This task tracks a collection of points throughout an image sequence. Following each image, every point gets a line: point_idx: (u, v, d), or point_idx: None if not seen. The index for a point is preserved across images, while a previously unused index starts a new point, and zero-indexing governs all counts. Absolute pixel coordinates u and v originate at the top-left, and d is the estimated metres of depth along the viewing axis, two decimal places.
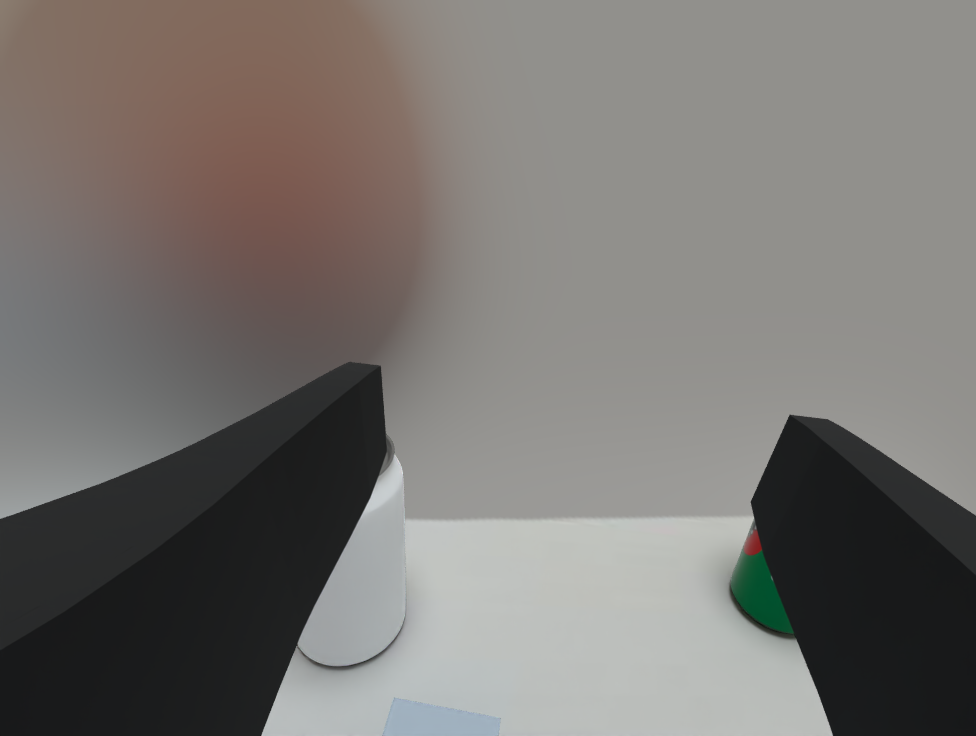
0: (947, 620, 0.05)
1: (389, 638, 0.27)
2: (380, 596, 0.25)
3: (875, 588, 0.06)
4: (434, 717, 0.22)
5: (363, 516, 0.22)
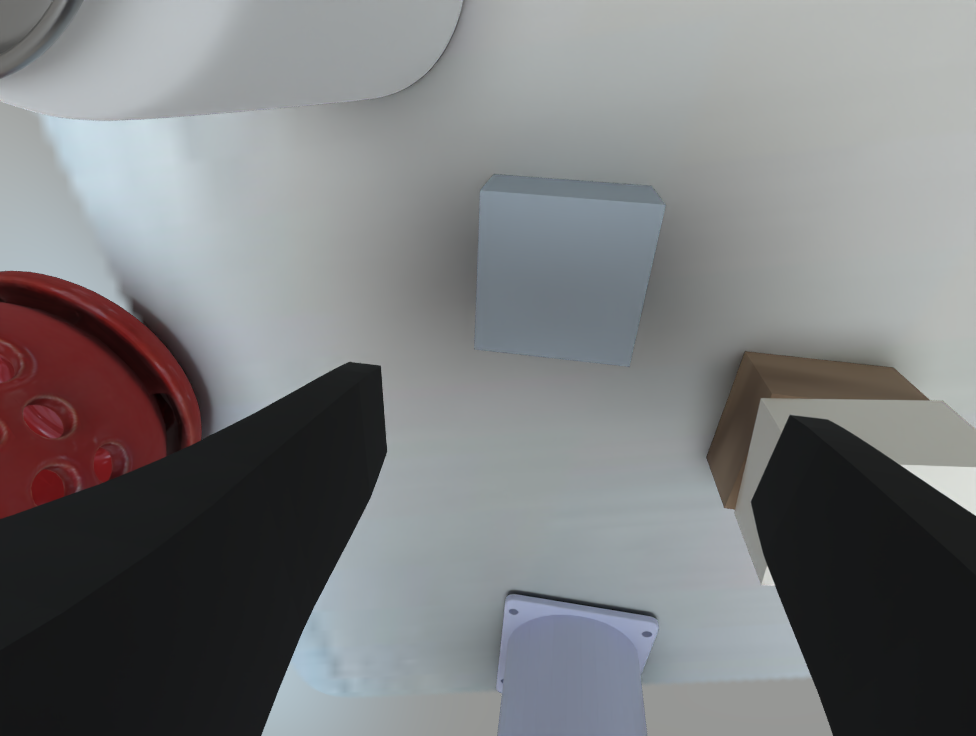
0: (947, 620, 0.05)
1: (450, 31, 0.13)
2: (400, 40, 0.10)
3: (876, 589, 0.06)
4: (551, 215, 0.14)
5: (219, 49, 0.06)
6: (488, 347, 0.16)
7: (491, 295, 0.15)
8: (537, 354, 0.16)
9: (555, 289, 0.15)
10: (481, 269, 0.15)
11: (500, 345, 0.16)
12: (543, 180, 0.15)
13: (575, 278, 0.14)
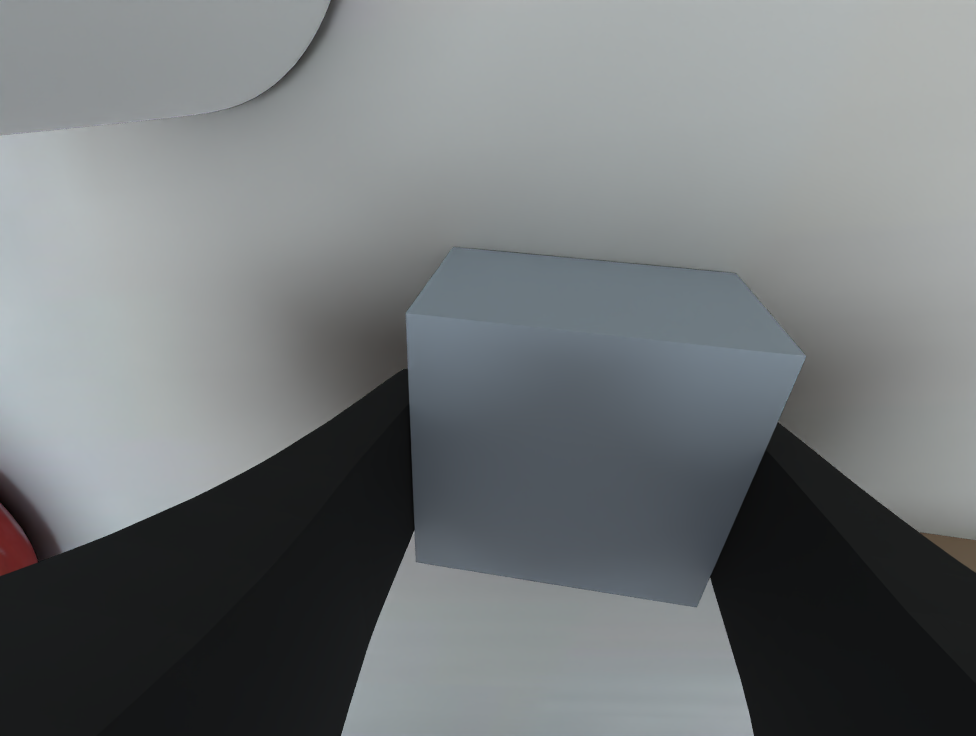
0: (839, 603, 0.05)
1: None
2: None
3: (786, 575, 0.06)
4: (555, 364, 0.07)
5: None
6: (440, 561, 0.09)
7: (440, 487, 0.08)
8: (528, 577, 0.09)
9: (561, 487, 0.08)
10: (419, 448, 0.08)
11: (461, 560, 0.09)
12: (539, 268, 0.08)
13: (602, 473, 0.07)
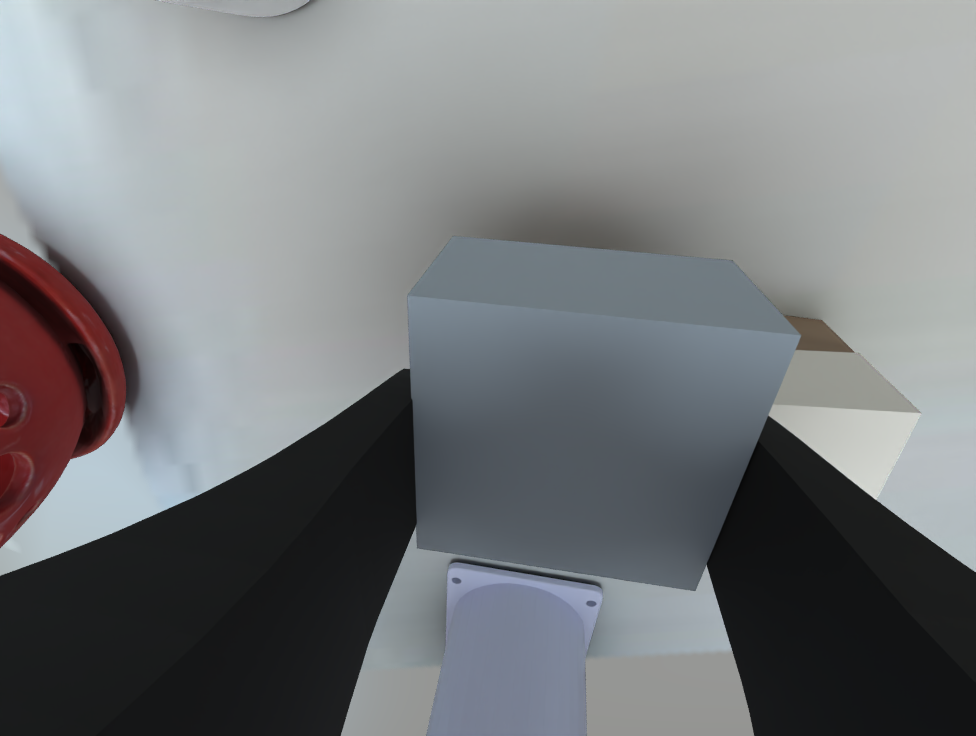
0: (839, 603, 0.05)
1: None
2: None
3: (785, 575, 0.06)
4: (554, 345, 0.07)
5: None
6: (441, 546, 0.09)
7: (441, 471, 0.08)
8: (528, 562, 0.09)
9: (561, 470, 0.08)
10: (421, 432, 0.08)
11: (462, 546, 0.09)
12: (539, 255, 0.08)
13: (600, 456, 0.07)
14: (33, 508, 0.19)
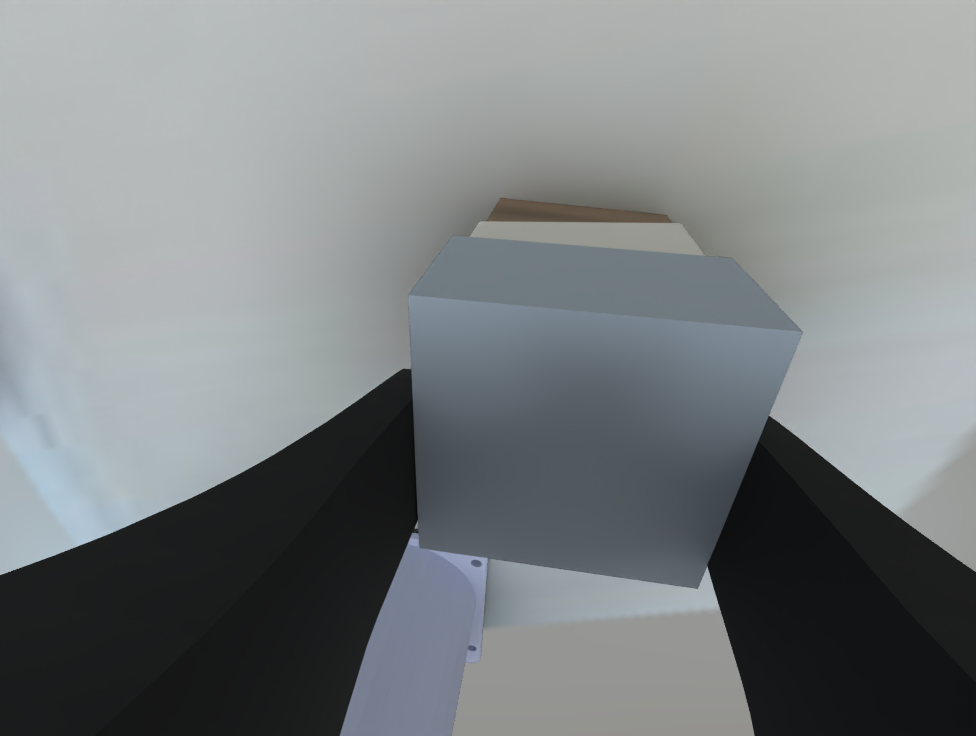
0: (840, 603, 0.05)
1: None
2: None
3: (787, 575, 0.06)
4: (557, 344, 0.07)
5: None
6: (443, 546, 0.09)
7: (443, 471, 0.08)
8: (531, 562, 0.09)
9: (563, 469, 0.08)
10: (422, 431, 0.08)
11: (464, 545, 0.09)
12: (539, 254, 0.08)
13: (603, 454, 0.07)
14: None
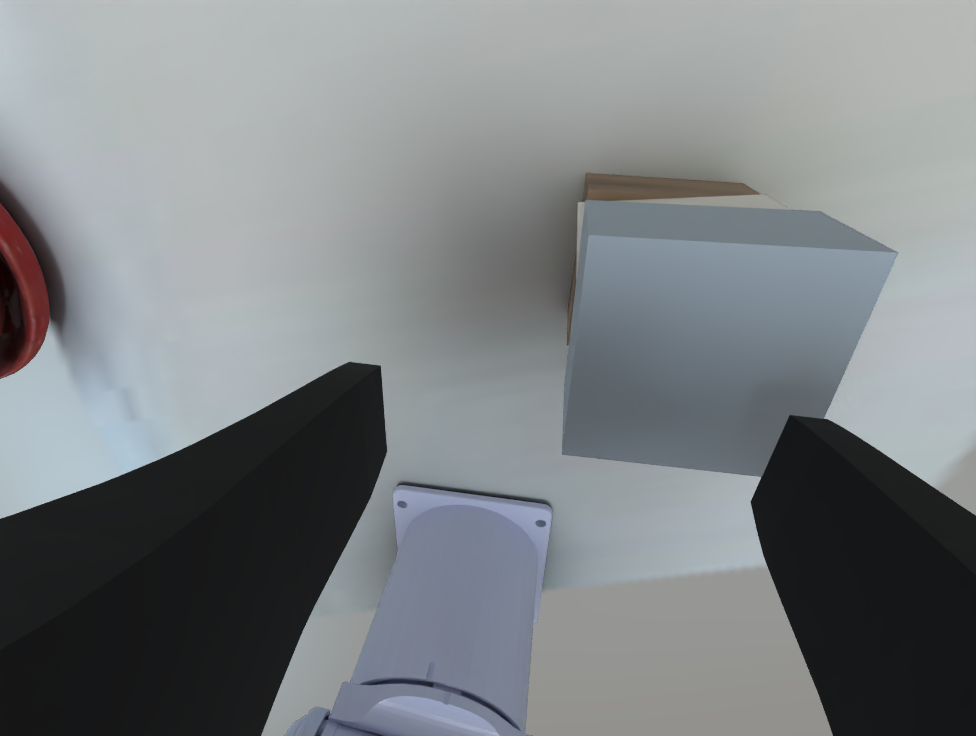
0: (947, 620, 0.05)
1: None
2: None
3: (875, 589, 0.06)
4: (701, 270, 0.09)
5: None
6: (583, 452, 0.11)
7: (593, 383, 0.10)
8: (656, 462, 0.11)
9: (694, 377, 0.10)
10: (581, 349, 0.10)
11: (601, 450, 0.11)
12: (664, 210, 0.10)
13: (728, 361, 0.09)
14: None
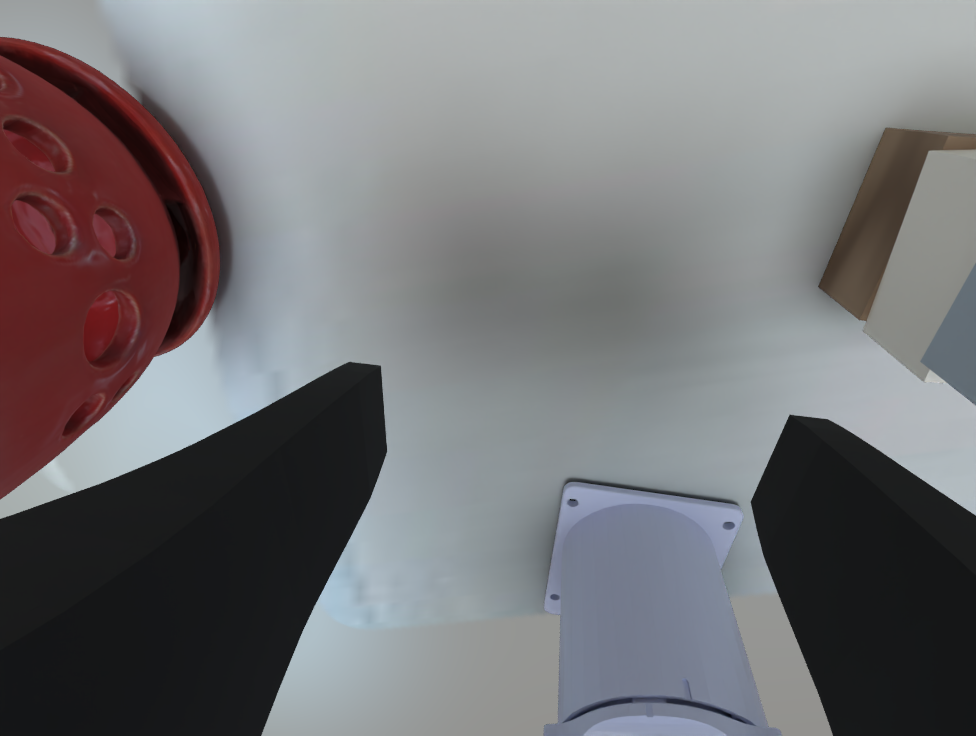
0: (947, 620, 0.05)
1: None
2: None
3: (876, 589, 0.06)
4: None
5: None
6: None
7: None
8: None
9: None
10: None
11: None
12: None
13: None
14: (130, 382, 0.16)
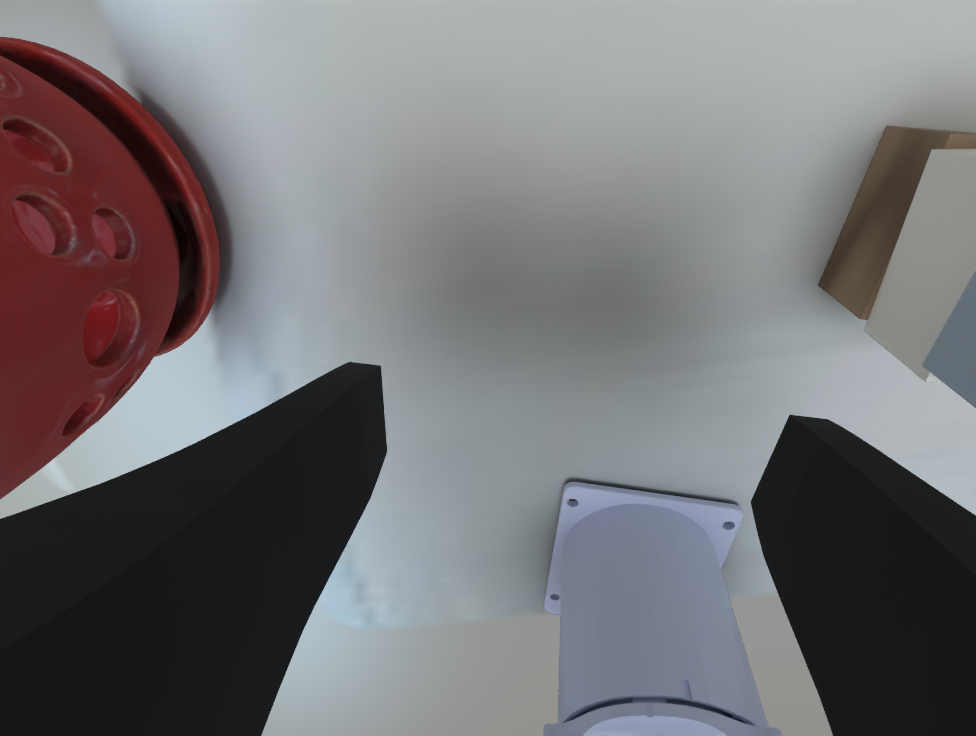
0: (947, 620, 0.05)
1: None
2: None
3: (876, 589, 0.06)
4: None
5: None
6: None
7: None
8: None
9: None
10: None
11: None
12: None
13: None
14: (129, 383, 0.16)
